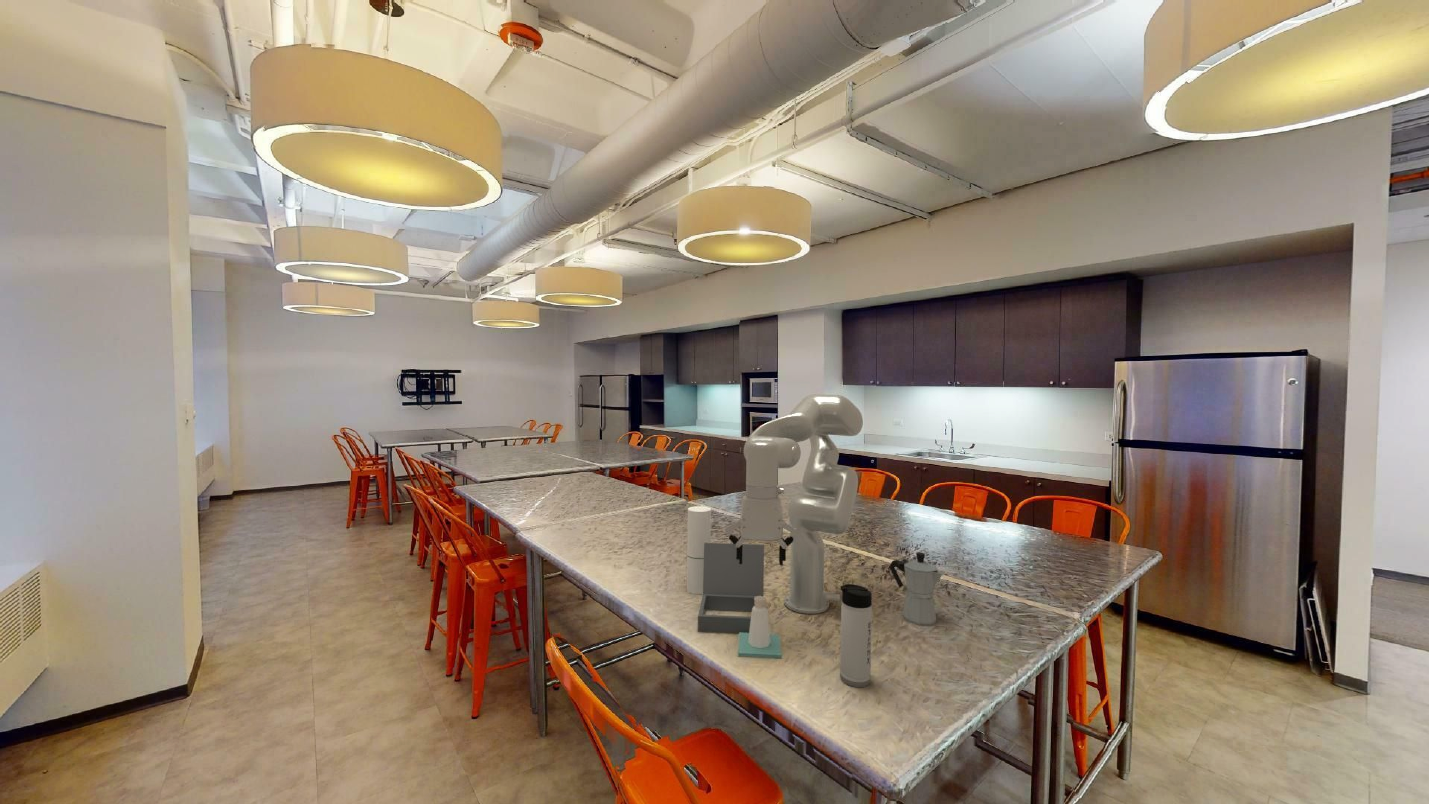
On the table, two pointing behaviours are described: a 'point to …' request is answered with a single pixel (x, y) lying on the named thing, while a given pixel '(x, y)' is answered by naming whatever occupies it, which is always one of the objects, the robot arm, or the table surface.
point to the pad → (766, 652)
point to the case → (725, 622)
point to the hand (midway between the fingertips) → (760, 563)
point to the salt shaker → (759, 624)
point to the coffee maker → (918, 589)
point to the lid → (733, 570)
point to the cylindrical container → (697, 546)
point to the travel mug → (855, 635)
